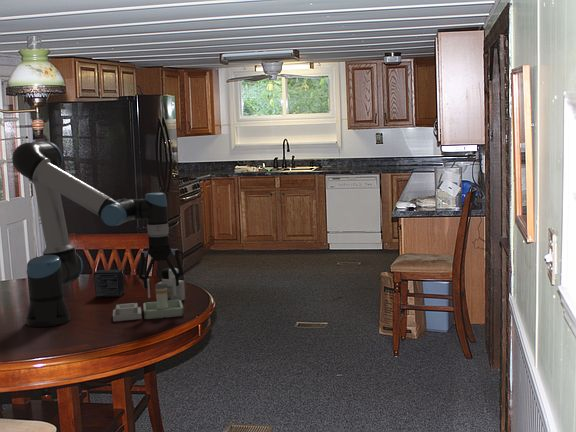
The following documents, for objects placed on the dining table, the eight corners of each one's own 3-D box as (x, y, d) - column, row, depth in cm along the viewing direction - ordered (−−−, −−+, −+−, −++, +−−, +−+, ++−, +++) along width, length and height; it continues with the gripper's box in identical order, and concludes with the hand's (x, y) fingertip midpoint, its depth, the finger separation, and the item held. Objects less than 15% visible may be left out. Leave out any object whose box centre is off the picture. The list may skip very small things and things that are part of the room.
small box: (125, 293, 320) (123, 268, 319) (120, 297, 314) (118, 272, 313) (100, 294, 322) (98, 269, 320) (95, 298, 315) (93, 272, 314)
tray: (144, 319, 277) (144, 311, 277) (143, 310, 291) (143, 302, 291) (183, 315, 280) (183, 308, 280) (181, 306, 294) (180, 299, 293)
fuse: (157, 313, 283) (155, 286, 282) (157, 310, 287) (154, 284, 286) (169, 311, 284) (166, 285, 283) (168, 309, 288) (166, 282, 287)
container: (157, 302, 302) (155, 269, 301) (169, 298, 309) (167, 266, 307) (173, 304, 299) (171, 271, 297) (185, 299, 306) (183, 267, 304)
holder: (113, 321, 276) (112, 310, 276) (113, 314, 286) (112, 304, 286) (141, 318, 278) (140, 308, 278) (141, 312, 288) (140, 301, 287)
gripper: (128, 238, 276) (132, 300, 279) (188, 234, 280) (192, 295, 283) (128, 235, 283) (132, 296, 286) (187, 231, 288) (190, 291, 291)
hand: (162, 295), depth 285 cm, fingers open, 9 cm apart
